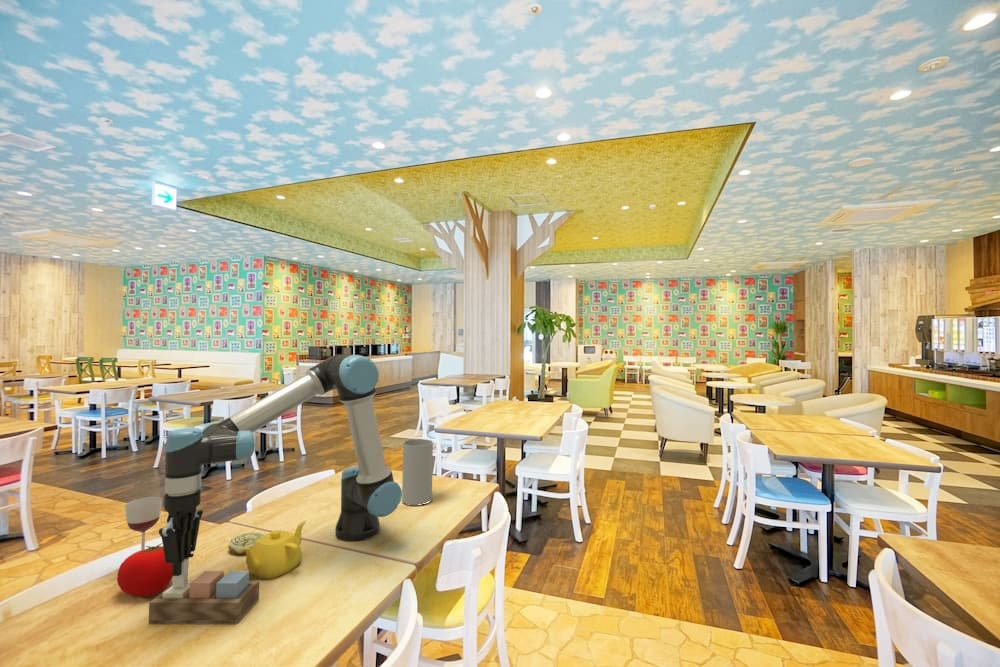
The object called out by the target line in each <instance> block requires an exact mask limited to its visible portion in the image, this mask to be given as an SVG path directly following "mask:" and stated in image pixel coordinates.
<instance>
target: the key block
mask: <svg viewBox="0 0 1000 667" xmlns="http://www.w3.org/2000/svg"><path fill="white" fill-rule="evenodd" d="M193 580H194V579H193ZM193 580H192V579H191V580H190V579H188V581H193ZM172 585H173V584H172ZM172 585H170V586H168V587H166V588H165V589H164V590H163V591H161V592H160V594H158V595H157V596H156V597H154V598H153V599H152V600H151V601H149V602H148V624H152V625H155V624H156V625H160V624H161V625H162V624H165V625H167V624H171V625H175V624H176V625H179V624H180V625H182V624H183V625H184V624H187V625H192V624H193V625H194V624H196V625H197V624H198V625H200V624H203V625H204V624H205V625H207V624H208V625H210V624H211V625H215V624H216V625H217V624H218V625H219V624H223V625H235V624H236V625H238V624H239V622H241V621H242V619H243V618H244V617H245V616H247V614H248V613H249V611H250V610H251V609H252V608H253V607H254V606H255V605H256V603H257V602H258V601H260V580H249V587H248V588H247V589H246V590H245V591H244V592H243V593H242V594H241V595H240V596H239V597H238V598H237V599H216V593H215V594H214V595H213V596H212V597H211V598H210V599H189V594H188V595H186V596H185V597H184V598H183V599H162V593H163V592H165V591H166V590H167V589H169V588H170V587H171V586H172Z"/></svg>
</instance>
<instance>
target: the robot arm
mask: <svg viewBox="0 0 1000 667" xmlns="http://www.w3.org/2000/svg"><path fill="white" fill-rule="evenodd" d="M379 374H380V373H379V370H378V366H377V365H376V363H375V362H374V361H373V360H372V359H370V358H369V357H367V356H364V355H360V354H345V353H344V354H343V353H339V354H335V355H332V356H331V357H328V358H326V359H324V360H322V361H320V362H319V363H317V364H315V365H313V366H312V367H310V368H309V369H307V370H306V371H305V374H304V375H302V376H300V377H298V378H296V379H295V380H293V381H291V382H289V383H288V384H286V385H284V386H283V387H281V388H279V389H277V390H276V391H274V392H272V393H271V394H270V393H269V394H268V395H266V396H265V397H263V398H260V399H259V400H257V401H255V402H254V403H252V404H250V405H249V406H246V407H245V408H243V409H241V410H239V411H238V412H236V413H235V414H232V415H231V416H228V417H227V418H225V419H223V420H221V421H219V422H217V423H210V424H208V425H206V426H204V427H203V428H202V429H201V428H199V427H191V428H190V427H187V428H186V427H185V428H179V429H178V428H177V429H173V430H171V431H169V432H168V434H166V435H167V436H166V441H165V443H166V444H165V449H164V452H165V453H164V454H165V455H164V456H165V457H164V458H165V459H164V461H165V462H164V493H165V495H163V509H164V511H165V512H167V513H168V516H167V519H166V523H167V524H166V525H165V527H162V528H159V530H158V534H159V535H160V537H161V540H162V542H161V543H162V546H163V549H164V555H165V561H166V563H173V578H172V585H173V588H184V587H185V586H186V585H188V580H189V579H188V578H189V561H190V560H189V559H190V558H193V557H194V556H195V553H193V552H195V551H196V548H197V543H198V537H199V536H198V535H199V529H200V523H201V519H202V516H203V513H204V511H203V510H197V508H198V507H199V506H200V504H201V496H202V495H201V493H202V491H201V490H200V489H201V487H202V467H203V465H204V466H205V465H211V464H218V463H219V464H220V463H225V462H232V461H241V460H244V459H248V458H251V457H252V456H253V454H254V452H255V446H256V445H255V443H256V441H255V436H254V434H253V433H255V432H256V431H258V430H260V429H261V428H264V427H265V426H266V425H268V424H270V423H272V422H273V421H275V420H276V419H278V418H280V417H282V416H283V415H285V414H287V413H288V412H290V411H292V410H294V409H295V408H297V407H298V406H301V405H302V404H304V403H305V402H307V401H309V400H310V399H312V398H314V397H315V396H317V395H319V396H323V395H325V394H326V393H328V392H330V391H334V390H336V391H337V396H338V400H339V402H340V403H342V404H344V405H345V408H346V414H347V419H348V425H349V428H350V433H351V437H352V443H353V448H354V452H355V457H356V462H357V465H356V466H355V465H354V466H350V467H346V468H345V469H344V470H342V472H341V479H340V484H341V487H340V491H341V494H340V496H341V497H340V502H341V503H340V513H339V516H338V519H337V523H336V525H335V529H334V530H335V532H334V534H335V537H336V538H337V539H339V540H342V541H346V542H347V541H348V542H356V541H363V540H367V539H370V538H373V537H374V536H375V535H377V534H378V533H380V530H381V526H380V525H381V523H380V520H379V518H384V517H387V516H389V515H391V514H392V513H394V512H395V511H396V510H397V508H398V506H399V504H401V501H402V488H401V486H400V485H399V484H398V483H397V482H396V481H394V477H393V476H394V474H393V471H392V468H391V467H390V466H387V465H386V461H385V460H386V459H385V455H384V450H383V446H382V445H383V444H382V439H381V434H380V430H379V425H378V424H379V423H378V419H377V414H376V410H375V403H374V401H373V400H374V399H373V398H374V396H375V395H376V394H377V389H376V386H377V383H378V382H379V376H380V375H379Z"/></svg>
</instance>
